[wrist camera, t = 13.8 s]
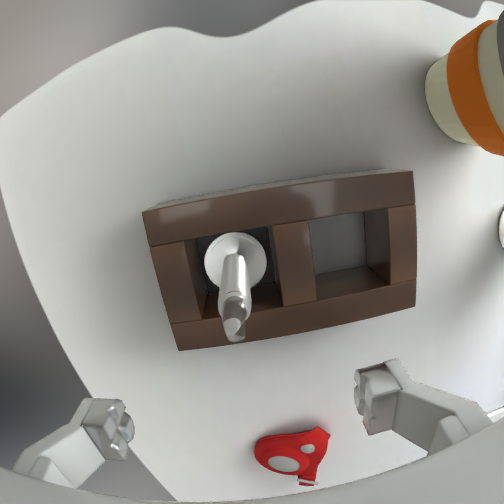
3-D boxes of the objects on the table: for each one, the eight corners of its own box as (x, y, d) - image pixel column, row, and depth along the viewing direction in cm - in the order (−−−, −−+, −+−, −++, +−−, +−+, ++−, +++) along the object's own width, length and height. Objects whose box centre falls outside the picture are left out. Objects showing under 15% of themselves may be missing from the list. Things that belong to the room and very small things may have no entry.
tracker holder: (236, 459, 32) (289, 433, 28) (246, 435, 36) (297, 405, 32) (305, 498, 32) (363, 476, 28) (311, 474, 36) (365, 449, 32)
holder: (158, 203, 25) (141, 211, 20) (384, 168, 25) (413, 170, 20) (187, 321, 28) (178, 351, 23) (390, 285, 28) (415, 306, 23)
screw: (241, 292, 27) (195, 261, 26) (276, 249, 26) (229, 215, 26) (245, 390, 15) (162, 342, 14) (308, 323, 14) (220, 264, 13)
